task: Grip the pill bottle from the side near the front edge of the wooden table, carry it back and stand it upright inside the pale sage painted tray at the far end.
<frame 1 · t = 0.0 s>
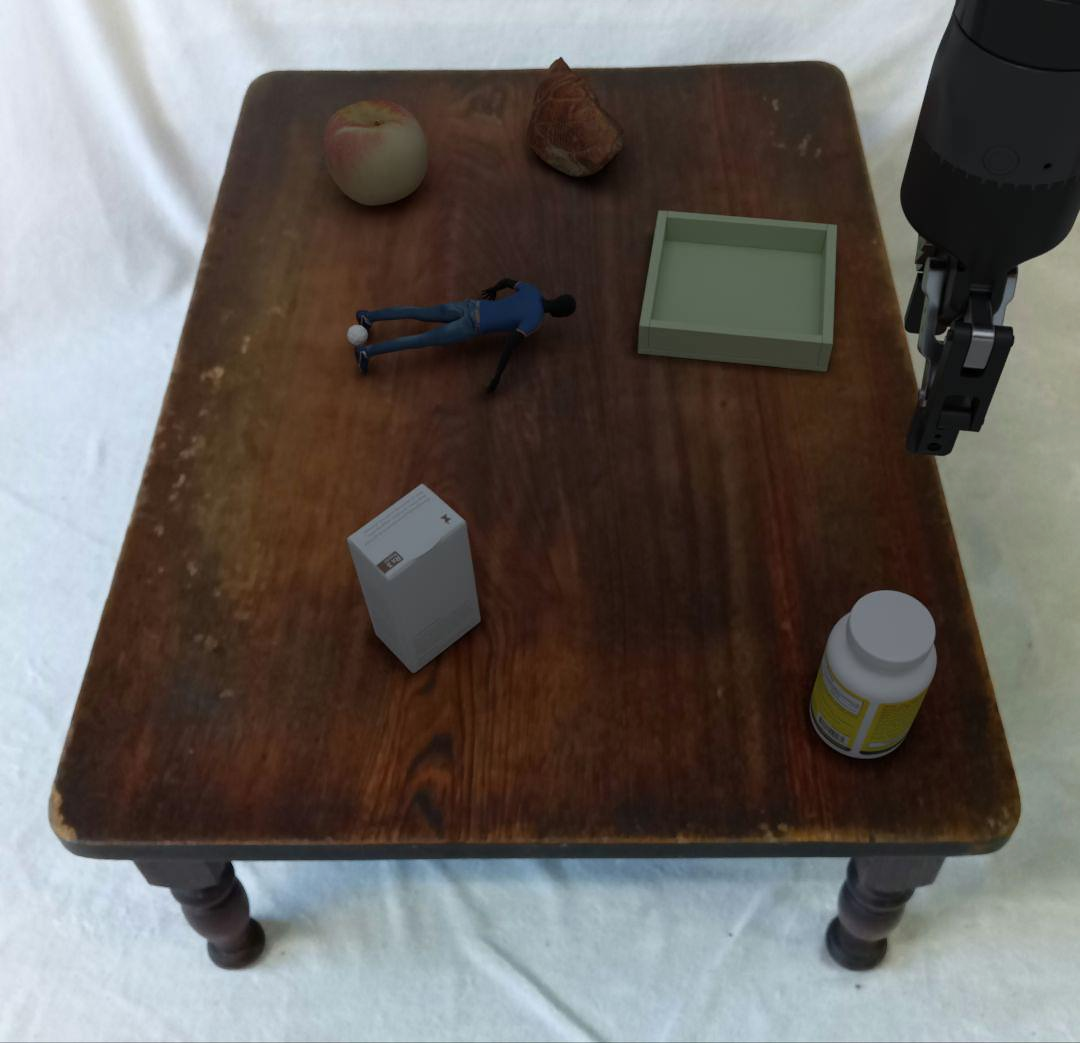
hand: (924, 387, 62), 21 cm above the table, tool pointing down, fingers open, 8 cm apart
cosmetic box: (429, 633, 79), on the table
apple: (384, 193, 106), on the table
pill bottle: (856, 717, 75), on the table
person figurine: (464, 349, 95), on the table
tray: (737, 302, 97), on the table
fossil: (575, 151, 109), on the table
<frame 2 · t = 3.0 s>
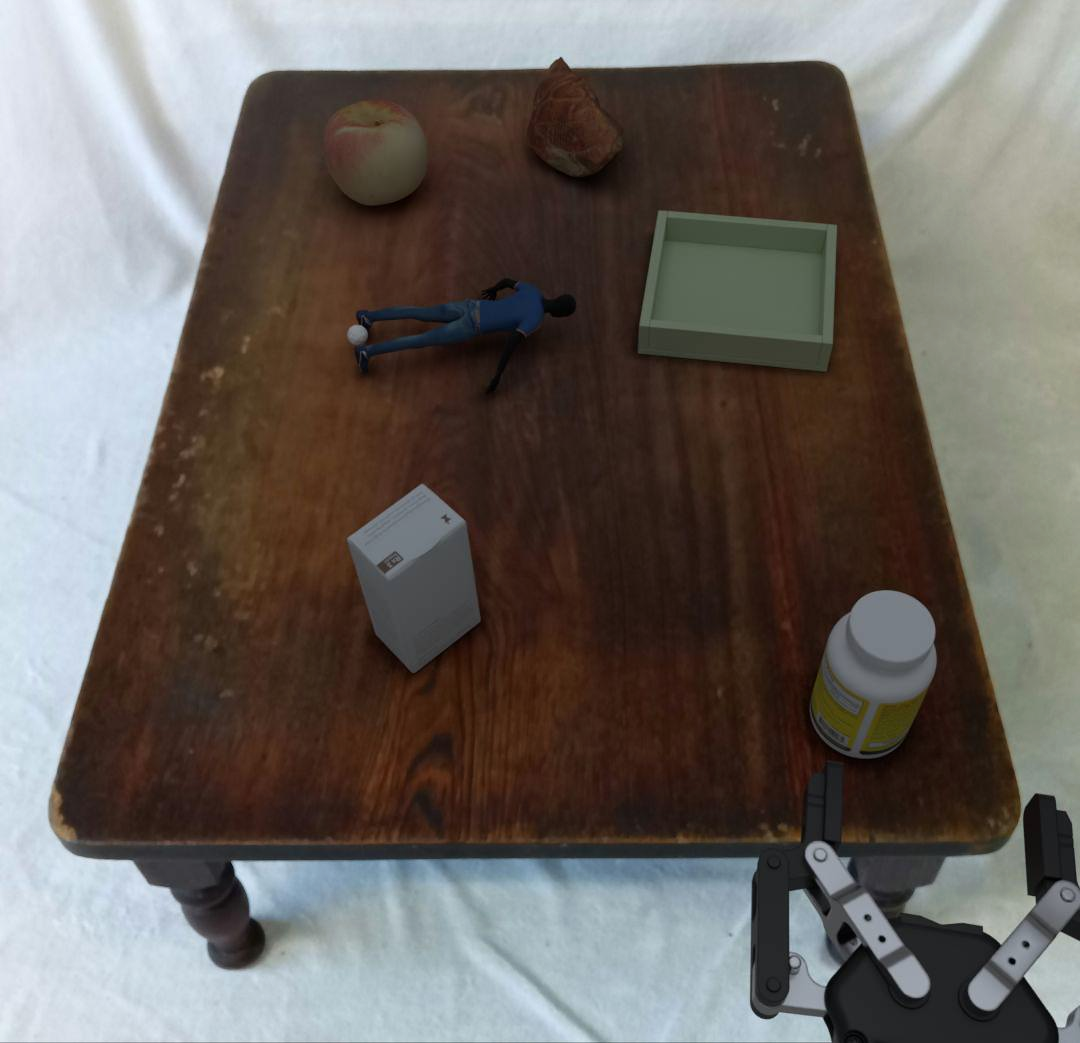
hand: (933, 784, 50), 20 cm above the table, tool horizontal, fingers open, 8 cm apart
nothing on the table moved.
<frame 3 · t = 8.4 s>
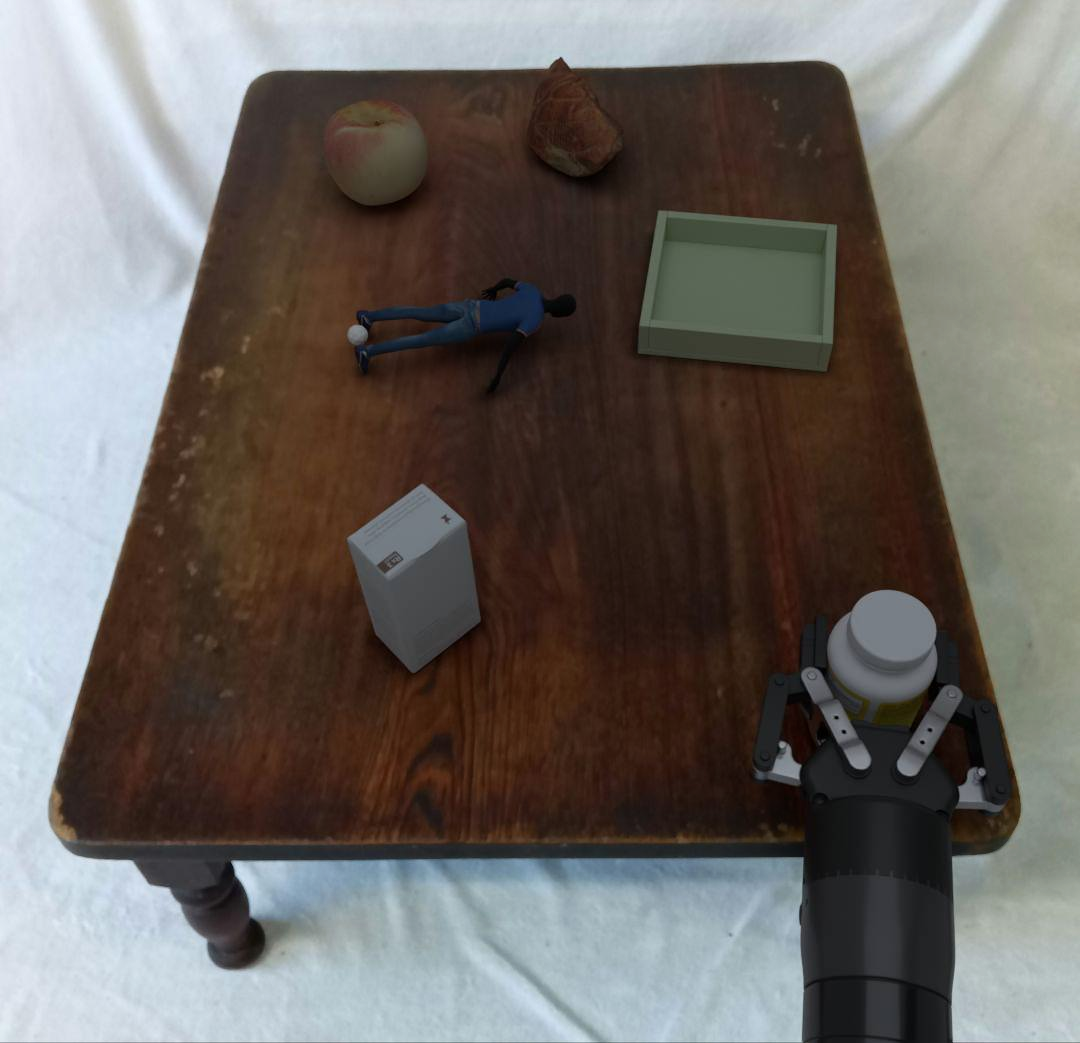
hand: (877, 630, 71), 7 cm above the table, tool horizontal, fingers closed on pill bottle, 6 cm apart
pill bottle: (856, 717, 75), on the table, touching gripper
everything else where it was.
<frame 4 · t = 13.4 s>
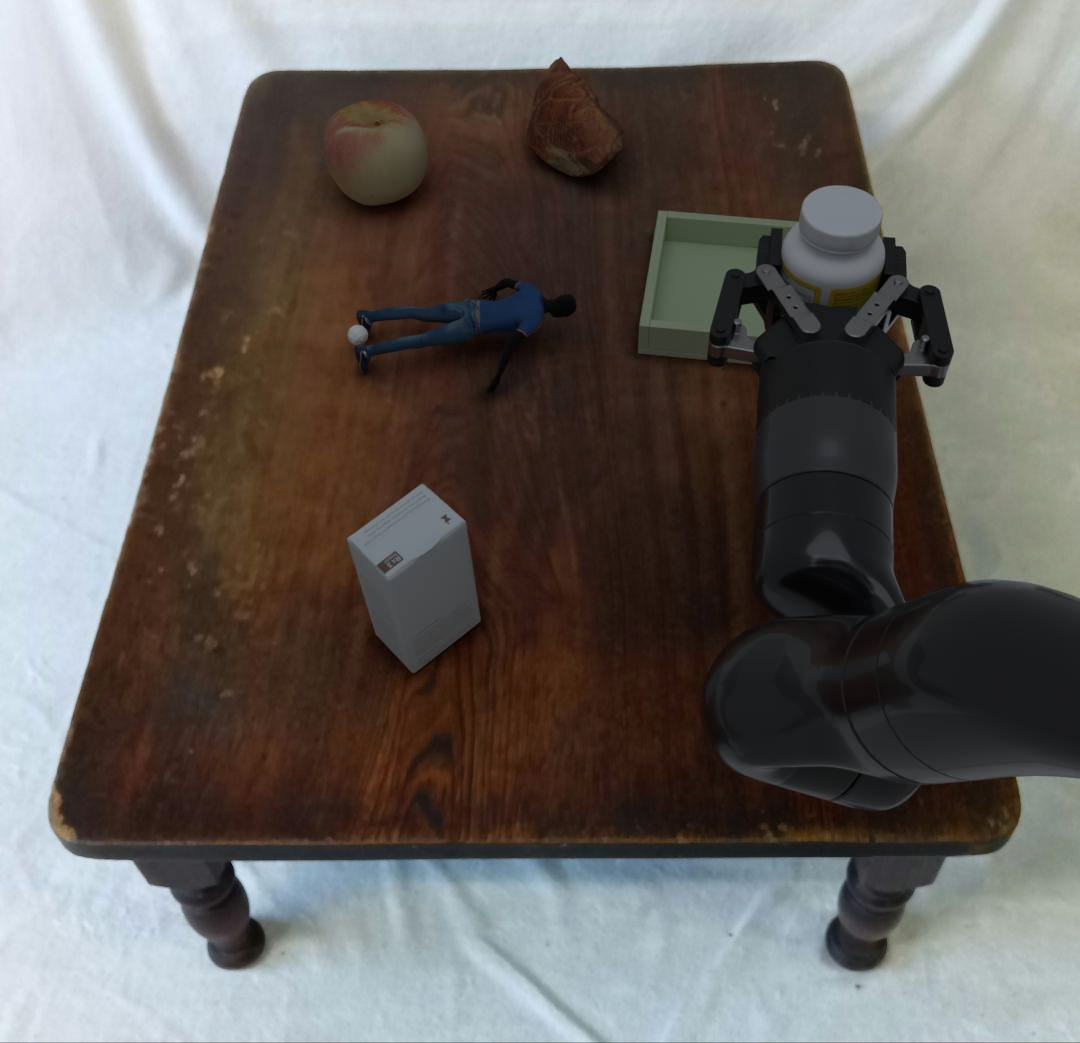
hand: (829, 243, 74), 18 cm above the table, tool horizontal, fingers closed on pill bottle, 6 cm apart
pill bottle: (813, 347, 78), point 11 cm above the table, touching gripper
everything else where it was.
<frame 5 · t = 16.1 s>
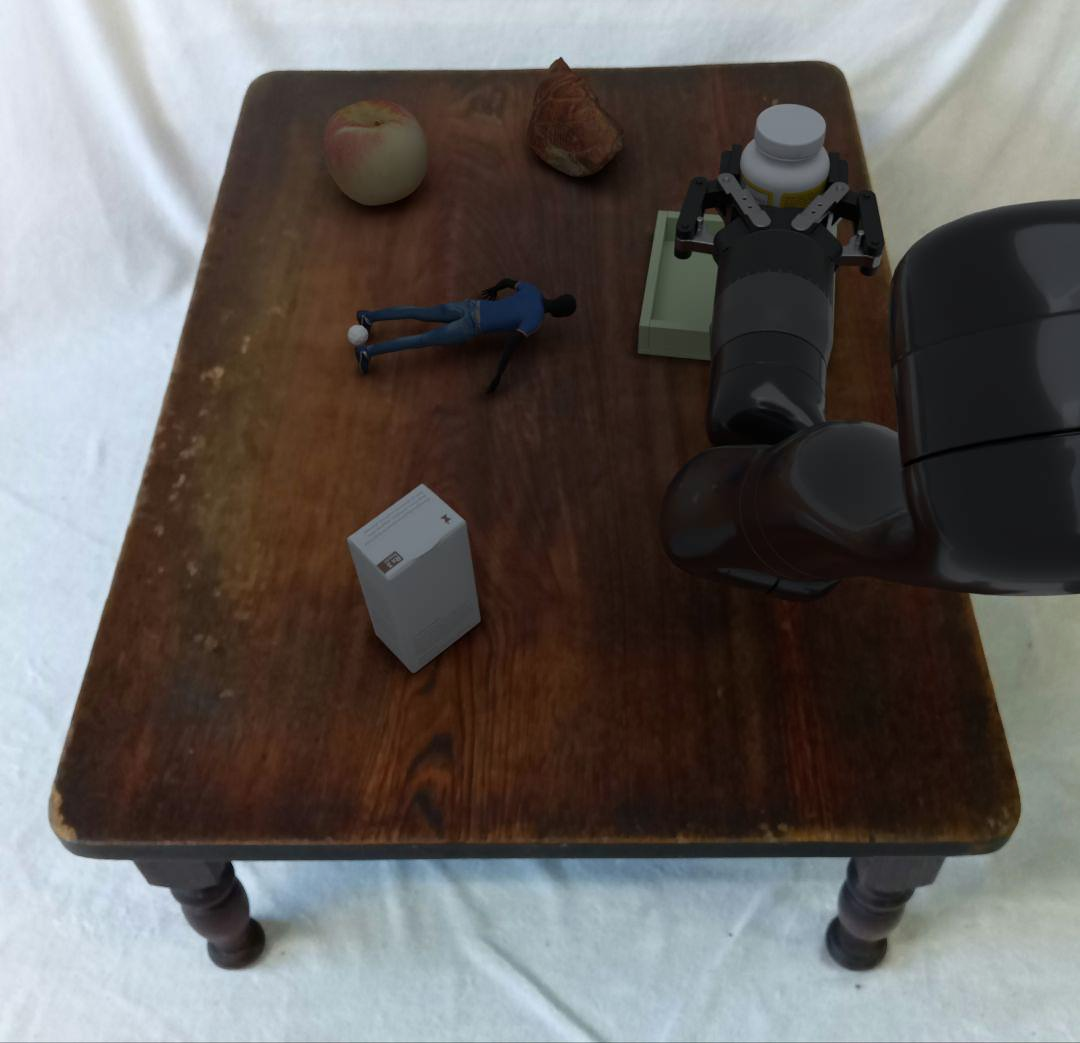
hand: (783, 158, 85), 14 cm above the table, tool horizontal, fingers closed on pill bottle, 6 cm apart
pill bottle: (770, 253, 89), point 7 cm above the table, touching gripper
everything else where it was.
when the fingers open (7 cm above the table, at t = 18.5 s): pill bottle stays where it is, resting on tray.
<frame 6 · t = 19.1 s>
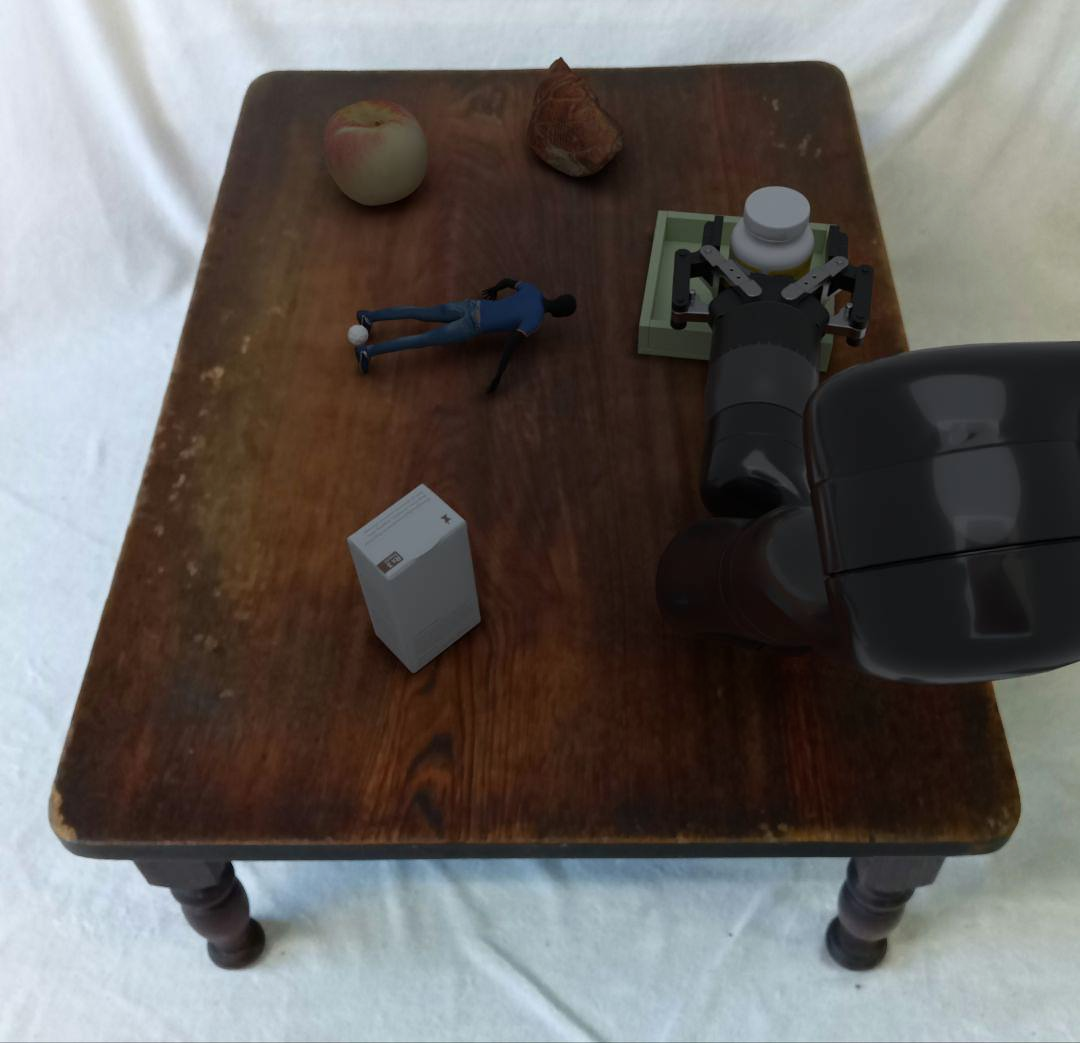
hand: (774, 228, 90), 8 cm above the table, tool horizontal, fingers open, 8 cm apart
pill bottle: (760, 319, 95), resting on tray
everything else where it was.
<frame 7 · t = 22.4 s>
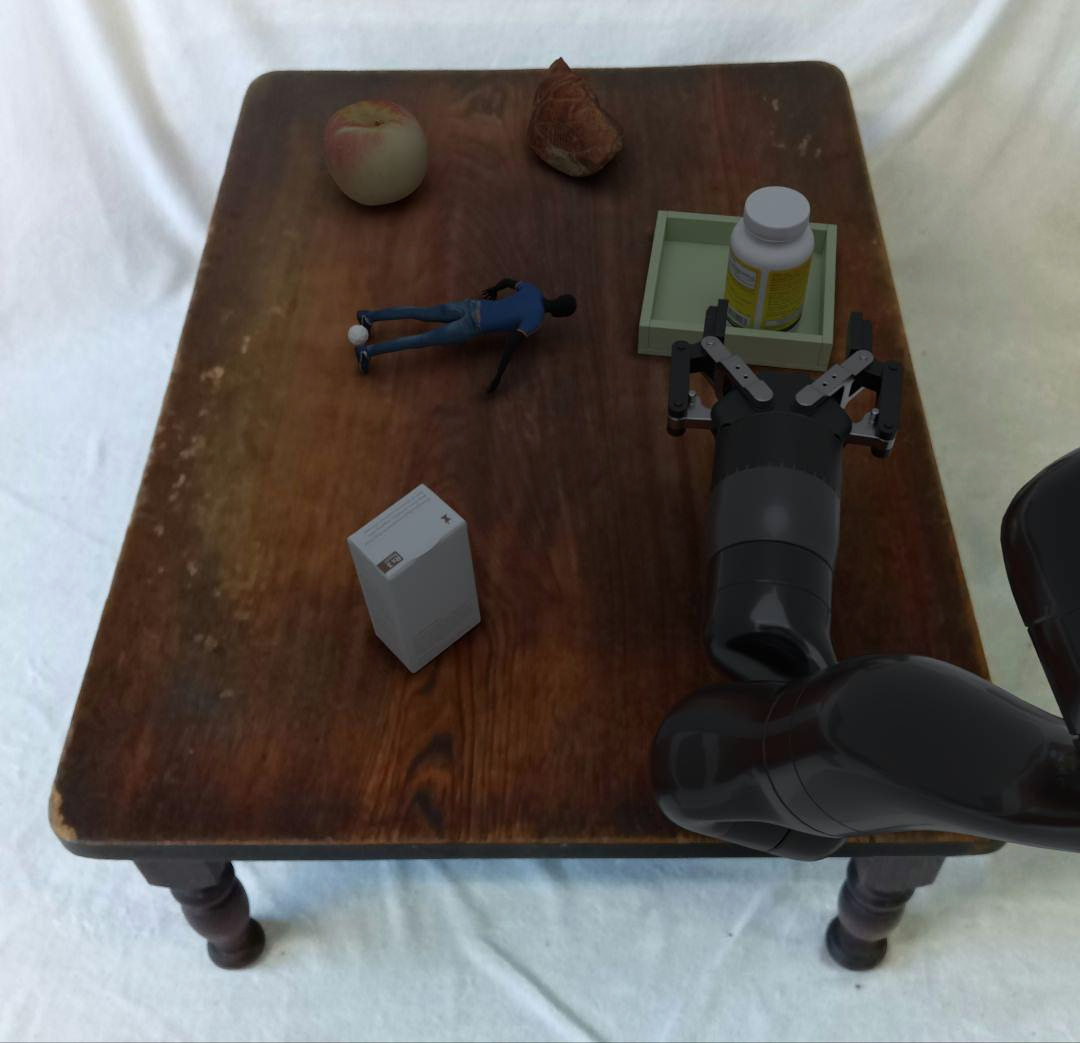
hand: (787, 314, 78), 12 cm above the table, tool horizontal, fingers open, 8 cm apart
nothing on the table moved.
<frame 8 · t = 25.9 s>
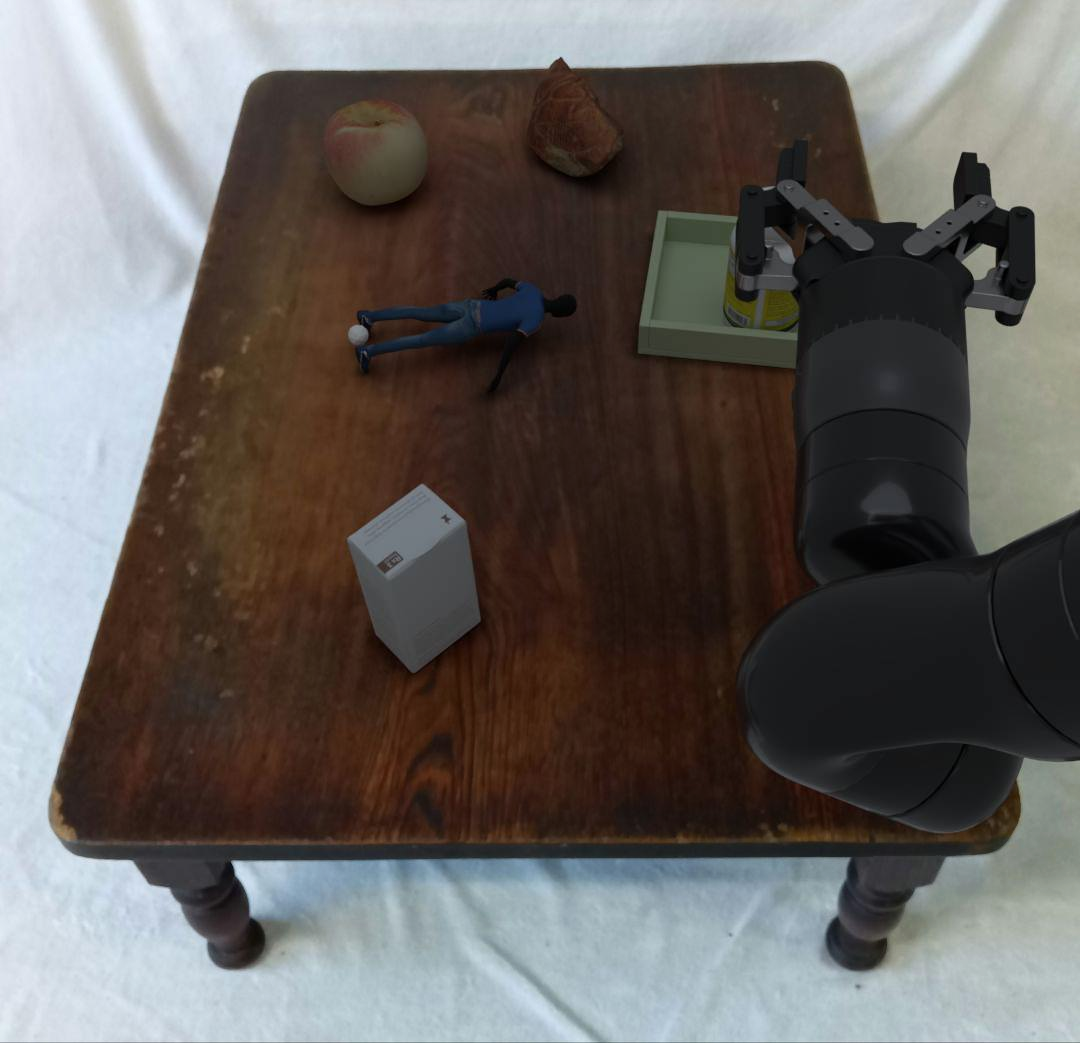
hand: (880, 159, 63), 28 cm above the table, tool horizontal, fingers open, 8 cm apart
nothing on the table moved.
at the end: pill bottle inside the target area in the tray (2.9 cm from its centre), point 0.4 cm above the tray's base; pill bottle tilted 0°; the gripper is holding nothing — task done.
